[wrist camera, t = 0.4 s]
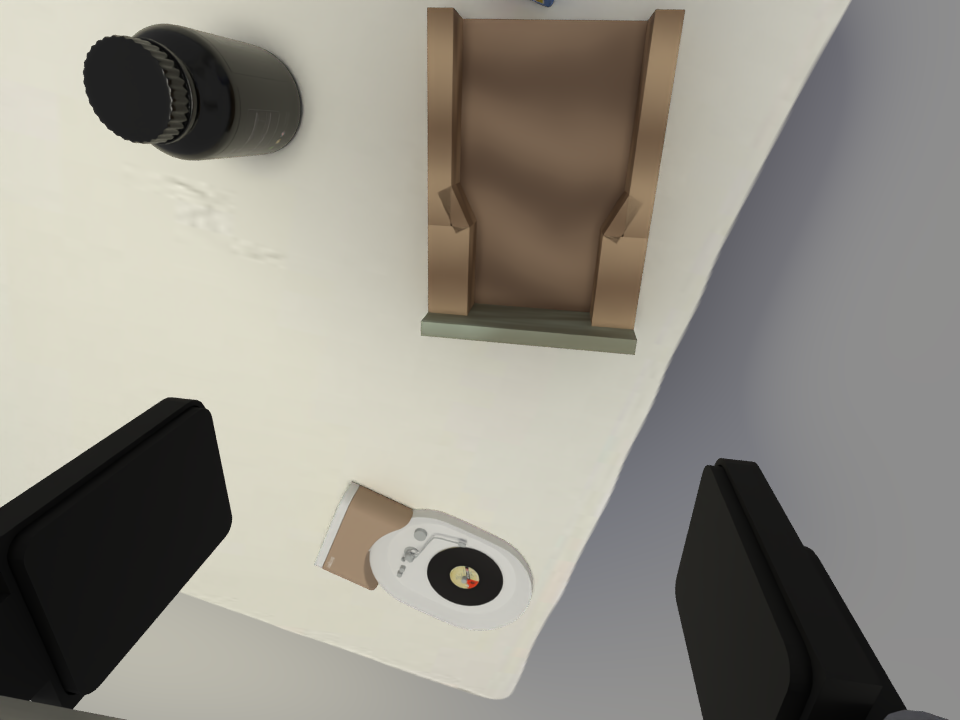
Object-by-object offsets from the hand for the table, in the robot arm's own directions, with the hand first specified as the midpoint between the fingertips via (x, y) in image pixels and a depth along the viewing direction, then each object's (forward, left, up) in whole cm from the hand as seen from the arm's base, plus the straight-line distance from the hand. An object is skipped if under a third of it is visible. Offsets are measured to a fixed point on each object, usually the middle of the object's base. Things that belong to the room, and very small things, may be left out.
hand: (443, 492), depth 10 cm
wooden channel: (-3, 0, -30) cm, 30 cm away
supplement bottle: (-8, -20, -30) cm, 37 cm away
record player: (+31, -7, -30) cm, 44 cm away
